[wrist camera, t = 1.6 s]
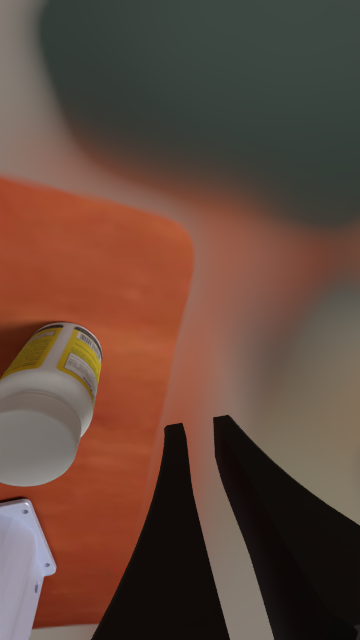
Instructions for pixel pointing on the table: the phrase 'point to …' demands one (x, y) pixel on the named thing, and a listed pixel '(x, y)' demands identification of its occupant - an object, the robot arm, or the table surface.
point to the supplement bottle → (47, 403)
